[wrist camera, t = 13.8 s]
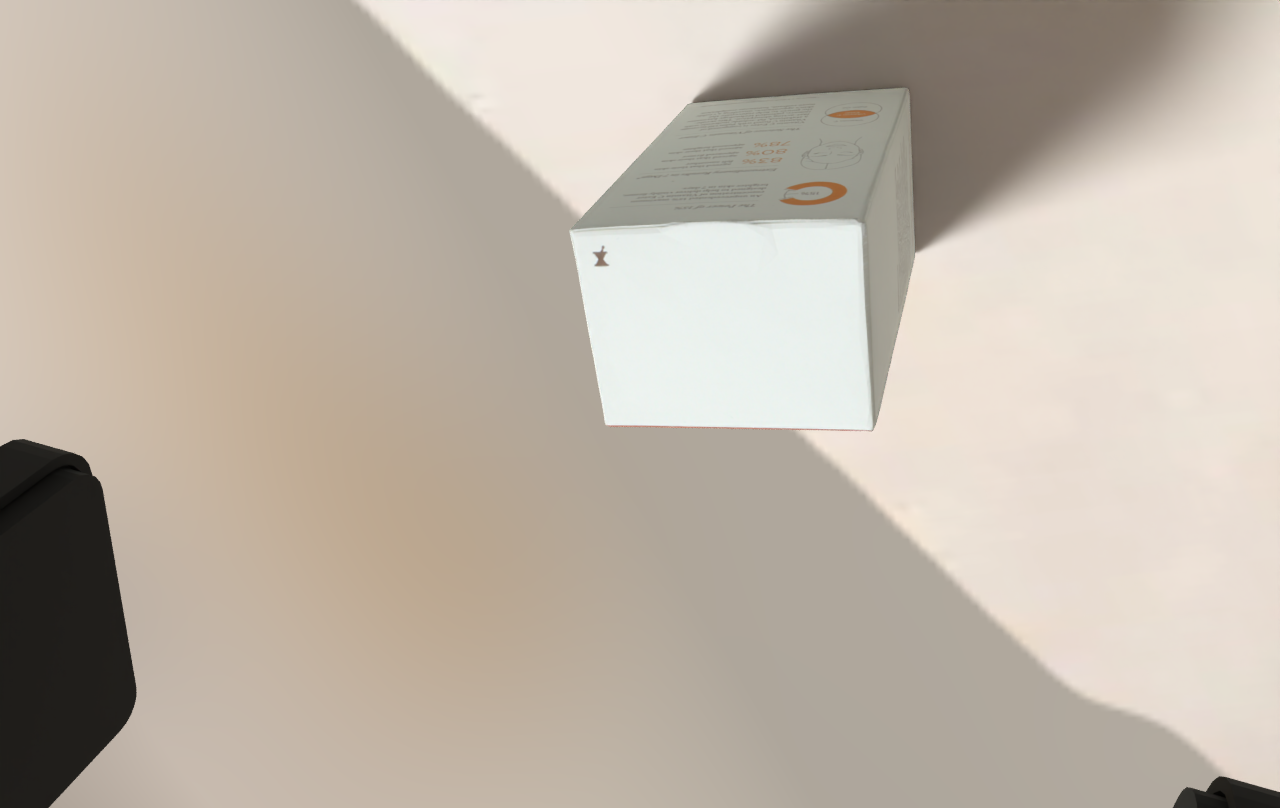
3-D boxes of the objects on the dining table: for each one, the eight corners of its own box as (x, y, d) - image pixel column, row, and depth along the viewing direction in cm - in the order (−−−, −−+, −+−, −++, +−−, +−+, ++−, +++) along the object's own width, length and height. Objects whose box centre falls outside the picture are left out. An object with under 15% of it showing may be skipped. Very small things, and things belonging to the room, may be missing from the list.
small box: (705, 264, 46) (598, 430, 35) (685, 99, 43) (561, 225, 32) (920, 258, 43) (877, 437, 32) (914, 83, 40) (864, 214, 29)
